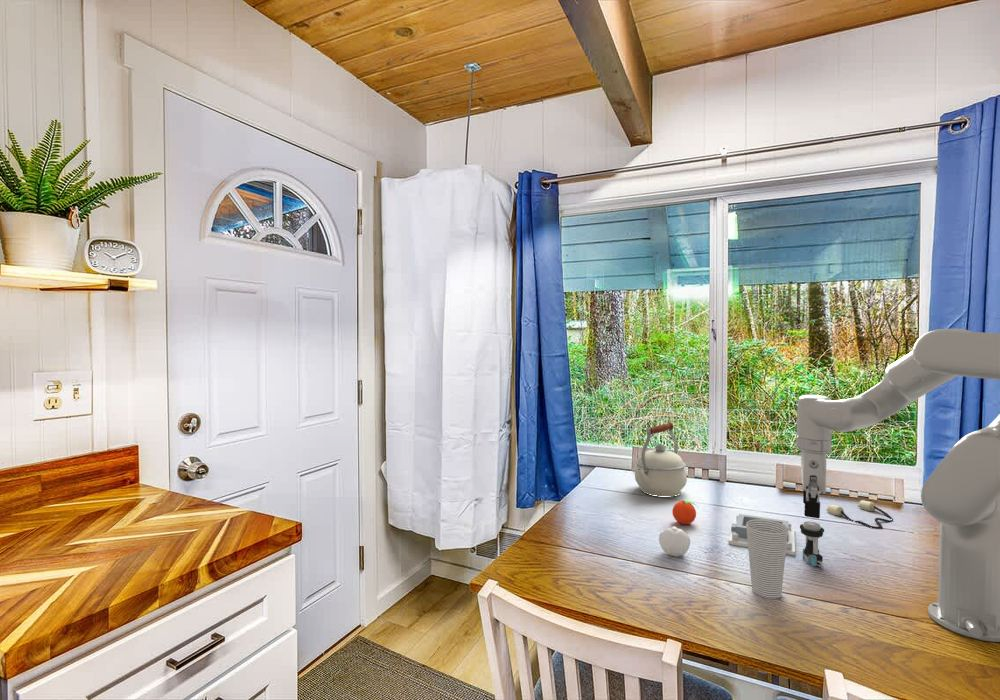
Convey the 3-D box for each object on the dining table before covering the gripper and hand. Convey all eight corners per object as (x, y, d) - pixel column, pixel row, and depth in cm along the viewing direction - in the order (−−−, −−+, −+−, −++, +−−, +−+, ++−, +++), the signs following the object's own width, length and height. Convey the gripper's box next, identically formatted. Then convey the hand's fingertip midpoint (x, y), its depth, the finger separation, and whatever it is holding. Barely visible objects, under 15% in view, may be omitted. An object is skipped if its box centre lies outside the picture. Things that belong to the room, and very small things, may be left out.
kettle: (655, 480, 200) (655, 418, 199) (699, 491, 186) (698, 424, 185) (616, 494, 184) (616, 426, 183) (660, 507, 170) (660, 434, 169)
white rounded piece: (689, 550, 137) (689, 522, 137) (691, 563, 130) (691, 533, 129) (658, 547, 139) (658, 520, 139) (659, 560, 132) (659, 531, 132)
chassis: (795, 555, 133) (795, 540, 133) (728, 543, 141) (728, 529, 141) (793, 531, 148) (794, 517, 148) (734, 521, 156) (734, 509, 156)
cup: (750, 579, 121) (750, 515, 120) (791, 590, 115) (791, 524, 115) (741, 594, 114) (741, 527, 114) (783, 606, 109) (784, 536, 108)
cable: (912, 524, 153) (912, 513, 153) (872, 532, 148) (872, 520, 148) (862, 507, 168) (862, 497, 168) (824, 513, 163) (824, 503, 163)
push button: (832, 569, 125) (833, 529, 125) (811, 570, 125) (812, 530, 124) (814, 557, 132) (815, 519, 131) (795, 558, 131) (795, 520, 131)
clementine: (696, 519, 159) (696, 497, 159) (702, 528, 152) (702, 505, 152) (670, 519, 160) (669, 497, 159) (675, 527, 153) (675, 504, 152)
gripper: (834, 454, 118) (831, 525, 119) (828, 438, 133) (826, 502, 134) (796, 450, 121) (794, 519, 123) (795, 435, 136) (793, 497, 138)
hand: (811, 510), depth 128 cm, fingers open, 9 cm apart
